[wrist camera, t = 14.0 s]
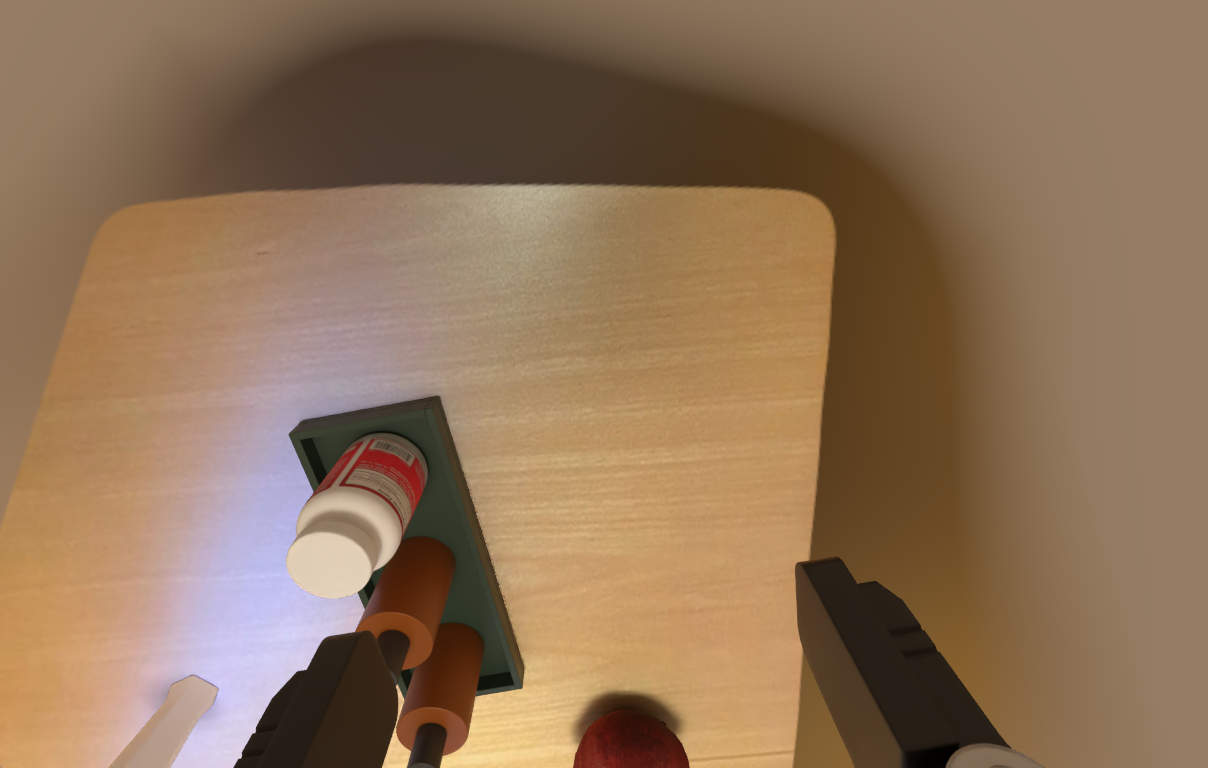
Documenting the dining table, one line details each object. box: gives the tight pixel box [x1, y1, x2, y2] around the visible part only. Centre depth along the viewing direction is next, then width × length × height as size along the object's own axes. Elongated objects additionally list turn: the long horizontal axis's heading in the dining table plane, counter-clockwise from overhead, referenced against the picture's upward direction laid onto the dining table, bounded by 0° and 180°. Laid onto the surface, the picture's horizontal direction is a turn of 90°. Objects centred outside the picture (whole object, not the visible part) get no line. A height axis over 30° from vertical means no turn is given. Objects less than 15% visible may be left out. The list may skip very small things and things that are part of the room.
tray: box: [289, 396, 524, 700], centre depth 45 cm, size 10×27×2 cm, turn 10°
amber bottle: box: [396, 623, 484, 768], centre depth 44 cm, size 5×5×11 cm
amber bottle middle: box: [355, 537, 456, 686], centre depth 41 cm, size 5×5×11 cm
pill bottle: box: [286, 433, 428, 598], centre depth 37 cm, size 6×6×11 cm
